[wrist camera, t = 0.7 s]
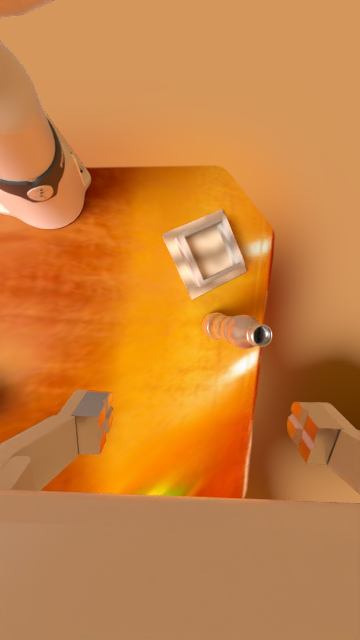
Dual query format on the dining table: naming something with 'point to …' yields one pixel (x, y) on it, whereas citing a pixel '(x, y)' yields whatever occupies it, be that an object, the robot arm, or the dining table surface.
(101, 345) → the dining table surface
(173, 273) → the dining table surface
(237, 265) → the bottle holder
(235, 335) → the plastic bottle
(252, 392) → the dining table surface
